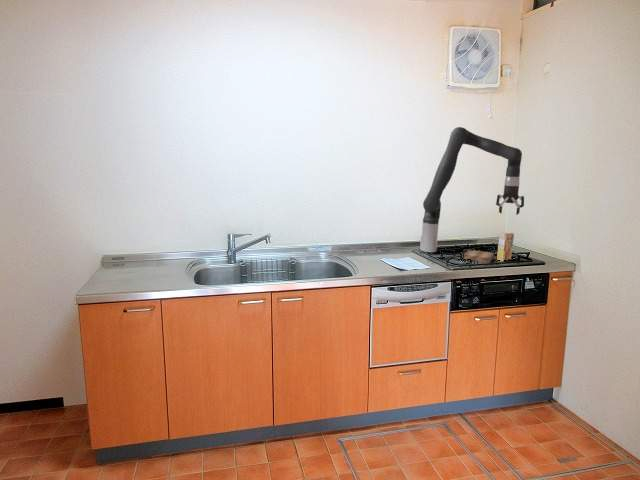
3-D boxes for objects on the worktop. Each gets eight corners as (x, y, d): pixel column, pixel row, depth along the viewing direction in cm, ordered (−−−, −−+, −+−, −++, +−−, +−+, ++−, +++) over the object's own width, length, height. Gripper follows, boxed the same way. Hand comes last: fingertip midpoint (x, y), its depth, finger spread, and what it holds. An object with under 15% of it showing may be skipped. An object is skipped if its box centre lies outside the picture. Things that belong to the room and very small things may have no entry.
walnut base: (463, 259, 263) (463, 254, 263) (468, 254, 275) (468, 249, 275) (489, 263, 257) (489, 257, 256) (493, 258, 269) (493, 253, 268)
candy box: (504, 258, 270) (507, 232, 267) (511, 259, 267) (514, 233, 264) (496, 260, 264) (499, 233, 261) (503, 261, 261) (506, 235, 258)
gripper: (497, 184, 257) (494, 213, 260) (525, 186, 250) (522, 215, 254) (499, 183, 263) (496, 212, 267) (526, 185, 257) (523, 214, 260)
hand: (508, 213), depth 260 cm, fingers open, 8 cm apart
